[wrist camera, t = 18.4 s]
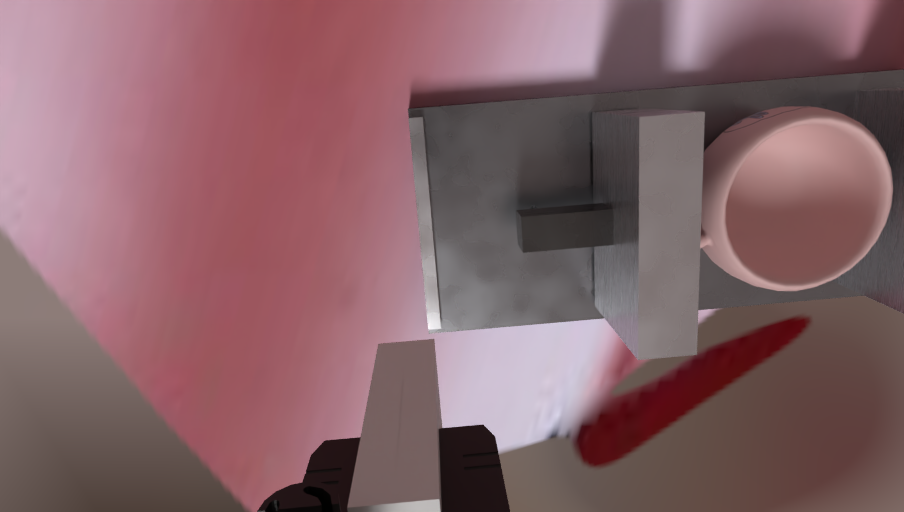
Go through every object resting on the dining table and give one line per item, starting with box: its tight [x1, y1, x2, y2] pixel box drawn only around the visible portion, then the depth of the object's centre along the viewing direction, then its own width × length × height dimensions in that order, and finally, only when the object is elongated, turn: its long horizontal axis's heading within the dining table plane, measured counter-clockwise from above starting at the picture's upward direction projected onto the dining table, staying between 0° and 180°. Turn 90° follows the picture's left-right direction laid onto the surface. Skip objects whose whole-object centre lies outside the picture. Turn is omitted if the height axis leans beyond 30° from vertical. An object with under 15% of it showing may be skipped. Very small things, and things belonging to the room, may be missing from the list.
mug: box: [700, 106, 893, 291], centre depth 34 cm, size 12×10×6 cm
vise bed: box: [408, 69, 904, 334], centre depth 33 cm, size 14×30×9 cm, turn 94°
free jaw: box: [516, 108, 705, 360], centre depth 32 cm, size 12×8×8 cm, turn 4°
